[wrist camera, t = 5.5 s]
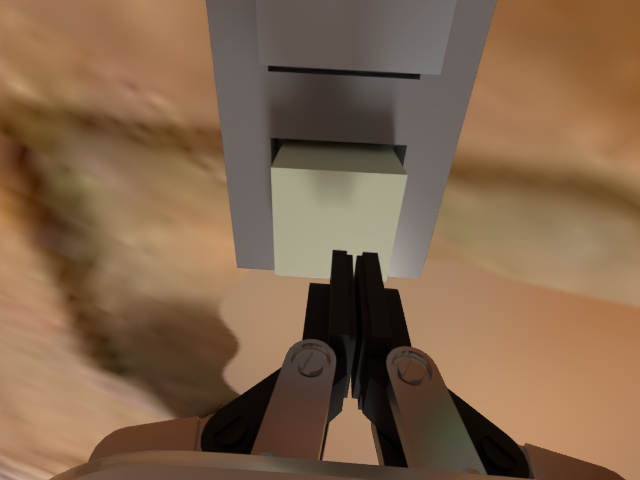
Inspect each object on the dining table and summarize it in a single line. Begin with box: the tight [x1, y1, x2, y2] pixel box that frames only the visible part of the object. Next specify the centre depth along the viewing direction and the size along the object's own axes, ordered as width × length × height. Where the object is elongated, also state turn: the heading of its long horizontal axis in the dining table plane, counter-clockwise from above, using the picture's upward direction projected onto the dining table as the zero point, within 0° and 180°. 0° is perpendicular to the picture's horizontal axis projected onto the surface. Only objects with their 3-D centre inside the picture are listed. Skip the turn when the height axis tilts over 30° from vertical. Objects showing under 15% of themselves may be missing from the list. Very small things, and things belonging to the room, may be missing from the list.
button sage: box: [271, 139, 408, 281], centre depth 17 cm, size 6×6×5 cm
